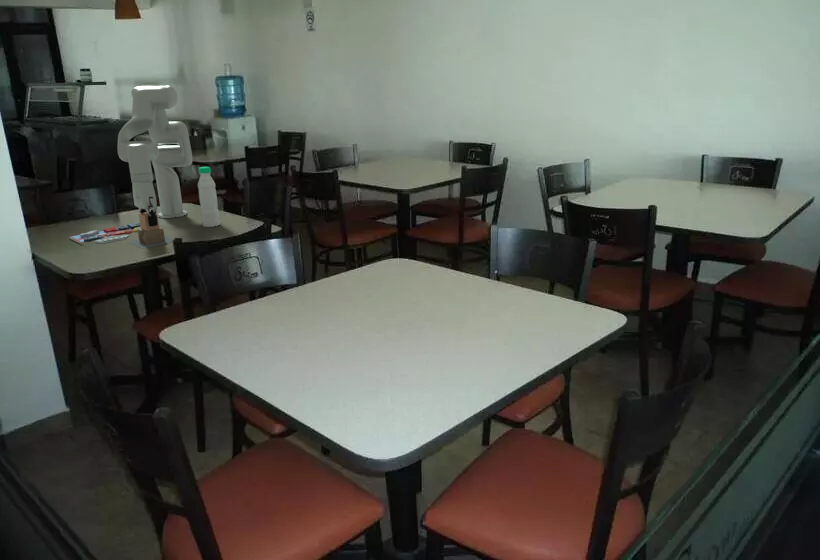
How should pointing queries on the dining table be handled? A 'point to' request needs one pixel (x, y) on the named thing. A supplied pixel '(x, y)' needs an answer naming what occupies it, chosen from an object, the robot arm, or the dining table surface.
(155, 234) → the base block
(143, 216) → the top block
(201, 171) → the water bottle
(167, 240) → the mat
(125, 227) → the puzzle board
